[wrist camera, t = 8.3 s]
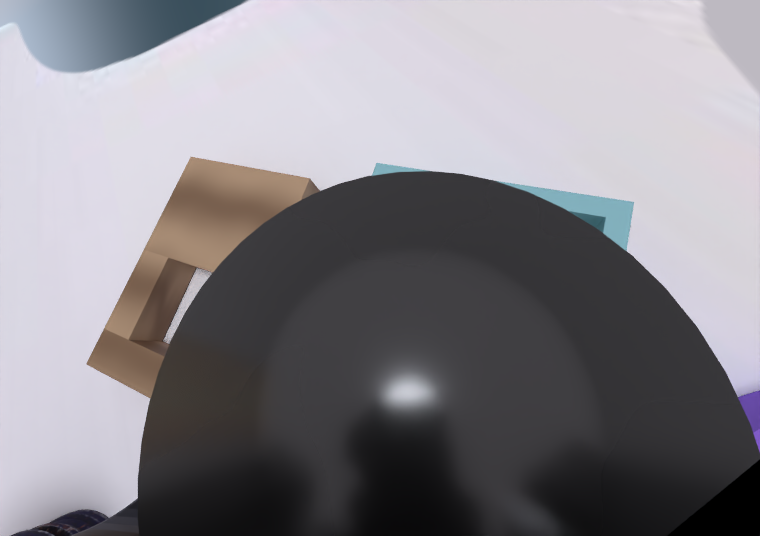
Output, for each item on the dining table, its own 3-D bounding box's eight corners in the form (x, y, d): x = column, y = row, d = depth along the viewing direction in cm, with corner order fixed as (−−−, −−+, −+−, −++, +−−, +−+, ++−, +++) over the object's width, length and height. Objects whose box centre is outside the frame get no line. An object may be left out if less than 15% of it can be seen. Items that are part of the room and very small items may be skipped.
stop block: (237, 420, 19) (208, 428, 17) (124, 363, 23) (86, 364, 20) (324, 196, 23) (309, 178, 20) (214, 174, 26) (190, 156, 23)
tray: (523, 629, 14) (550, 735, 10) (287, 497, 17) (242, 536, 14) (594, 234, 18) (634, 202, 14) (389, 196, 21) (376, 163, 18)
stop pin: (440, 452, 14) (351, 1204, 2) (368, 364, 16) (75, 396, 3) (519, 374, 14) (1007, 510, 2) (439, 295, 16) (400, 93, 4)
